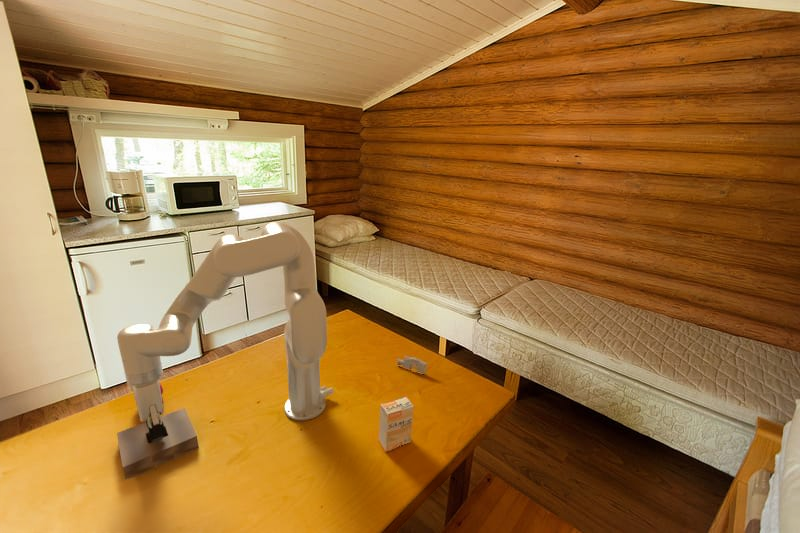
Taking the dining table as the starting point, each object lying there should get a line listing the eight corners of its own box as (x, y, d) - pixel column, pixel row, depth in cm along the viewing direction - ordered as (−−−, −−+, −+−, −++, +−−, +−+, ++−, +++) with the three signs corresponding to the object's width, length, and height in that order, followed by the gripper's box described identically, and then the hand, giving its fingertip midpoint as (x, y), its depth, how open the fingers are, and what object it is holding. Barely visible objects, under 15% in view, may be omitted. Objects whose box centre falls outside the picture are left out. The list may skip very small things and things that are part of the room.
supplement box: (385, 453, 98) (387, 414, 94) (378, 441, 102) (379, 403, 98) (411, 443, 102) (414, 406, 98) (403, 432, 106) (406, 395, 102)
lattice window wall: (396, 366, 138) (397, 353, 136) (398, 364, 139) (399, 351, 137) (424, 376, 133) (425, 362, 131) (426, 374, 134) (427, 360, 132)
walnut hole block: (186, 418, 107) (184, 407, 105) (198, 447, 97) (196, 435, 96) (119, 444, 96) (116, 433, 95) (125, 480, 87) (122, 467, 85)
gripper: (122, 362, 93) (134, 419, 99) (130, 395, 81) (144, 458, 87) (156, 352, 98) (166, 407, 103) (168, 383, 86) (179, 443, 91)
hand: (156, 430), depth 95 cm, fingers open, 4 cm apart
